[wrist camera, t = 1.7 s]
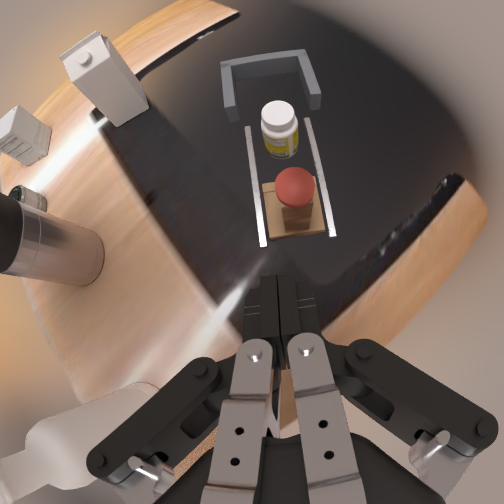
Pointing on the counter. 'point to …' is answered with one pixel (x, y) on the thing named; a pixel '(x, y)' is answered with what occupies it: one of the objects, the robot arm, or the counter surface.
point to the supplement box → (24, 136)
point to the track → (319, 175)
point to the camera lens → (28, 197)
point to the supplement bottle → (280, 129)
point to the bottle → (67, 444)
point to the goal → (264, 67)
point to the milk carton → (105, 78)
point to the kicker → (293, 205)
